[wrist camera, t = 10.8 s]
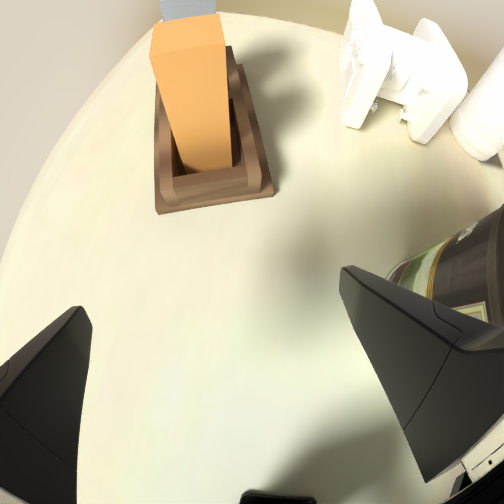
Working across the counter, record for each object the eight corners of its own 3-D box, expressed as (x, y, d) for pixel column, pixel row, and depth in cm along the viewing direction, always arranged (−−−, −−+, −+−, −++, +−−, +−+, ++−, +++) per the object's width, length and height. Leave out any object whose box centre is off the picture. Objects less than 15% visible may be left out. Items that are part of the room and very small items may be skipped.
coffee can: (368, 261, 24) (474, 186, 10) (453, 254, 24) (556, 199, 11) (378, 380, 21) (501, 410, 7) (464, 356, 21) (578, 350, 8)
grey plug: (222, 103, 27) (214, -8, 14) (183, 109, 27) (159, 1, 14) (218, 79, 28) (210, -22, 15) (182, 85, 28) (162, -15, 15)
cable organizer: (421, 160, 27) (477, 94, 16) (333, 134, 27) (368, 47, 16) (403, 77, 31) (434, 18, 20) (332, 56, 31) (351, -13, 20)
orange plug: (232, 168, 25) (225, 43, 12) (186, 175, 24) (149, 55, 12) (226, 133, 26) (218, 13, 13) (184, 139, 25) (154, 23, 13)
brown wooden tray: (272, 196, 25) (277, 173, 21) (158, 214, 24) (144, 194, 21) (242, 70, 30) (242, 44, 26) (158, 83, 29) (151, 58, 25)
